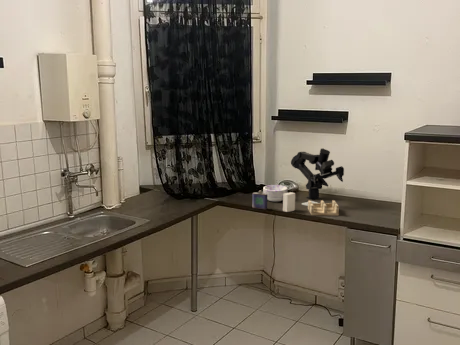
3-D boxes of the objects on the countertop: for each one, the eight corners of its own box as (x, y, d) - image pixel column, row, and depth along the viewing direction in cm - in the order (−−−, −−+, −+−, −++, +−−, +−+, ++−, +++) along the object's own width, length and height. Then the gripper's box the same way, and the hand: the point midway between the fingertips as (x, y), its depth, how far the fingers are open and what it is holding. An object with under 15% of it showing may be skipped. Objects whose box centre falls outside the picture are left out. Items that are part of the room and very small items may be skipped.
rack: (307, 208, 276) (308, 199, 275) (333, 208, 276) (334, 200, 275) (311, 215, 262) (311, 206, 261) (338, 215, 262) (339, 206, 261)
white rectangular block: (282, 210, 272) (283, 193, 270) (290, 208, 275) (290, 192, 273) (287, 212, 269) (287, 194, 267) (294, 210, 273) (295, 193, 271)
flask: (251, 207, 278) (251, 190, 275) (253, 206, 280) (253, 189, 278) (266, 209, 274) (266, 191, 272) (268, 208, 276) (268, 190, 274)
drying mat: (301, 204, 285) (301, 203, 285) (311, 201, 291) (311, 200, 291) (316, 208, 276) (316, 207, 276) (326, 205, 282) (326, 204, 282)
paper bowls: (267, 203, 287) (267, 190, 286) (260, 197, 302) (260, 185, 300) (291, 202, 291) (291, 189, 289) (282, 196, 305) (282, 184, 304)
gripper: (308, 162, 279) (320, 177, 267) (337, 153, 282) (350, 168, 270) (309, 176, 286) (320, 192, 274) (337, 167, 289) (349, 182, 277)
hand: (335, 183), depth 274 cm, fingers open, 9 cm apart
